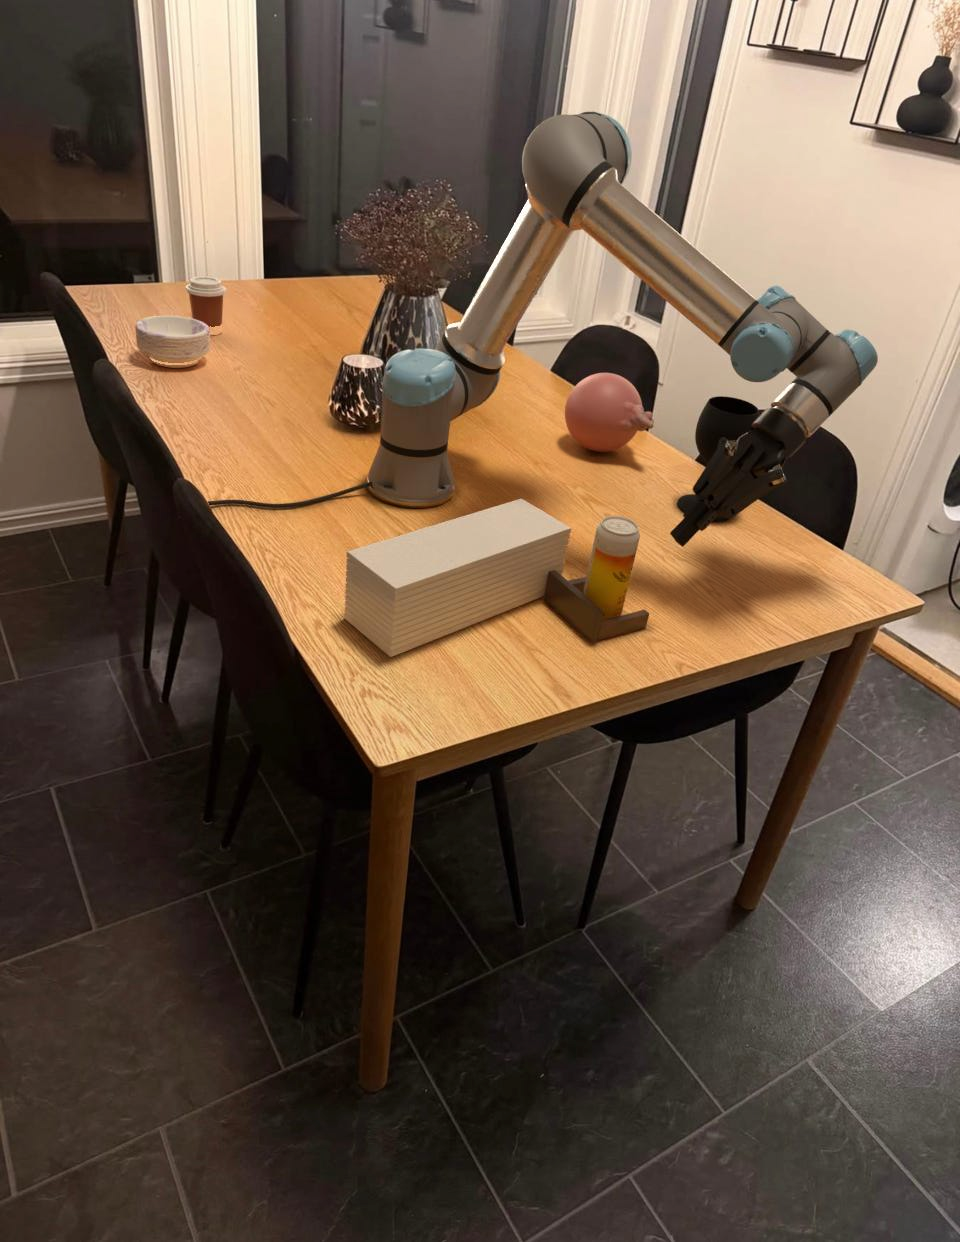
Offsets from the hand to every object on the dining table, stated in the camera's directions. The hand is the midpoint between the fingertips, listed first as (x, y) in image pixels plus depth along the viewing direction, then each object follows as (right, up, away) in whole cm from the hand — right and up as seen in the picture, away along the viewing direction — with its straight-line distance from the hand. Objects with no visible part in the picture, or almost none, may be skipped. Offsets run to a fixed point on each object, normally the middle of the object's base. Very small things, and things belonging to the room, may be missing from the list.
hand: (676, 539), depth 137 cm
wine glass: (+12, +9, +33) cm, 37 cm away
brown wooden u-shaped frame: (-12, -11, -1) cm, 16 cm away
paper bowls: (-96, +45, +65) cm, 124 cm away
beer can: (-12, -11, -1) cm, 16 cm away
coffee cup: (-94, +57, +84) cm, 139 cm away
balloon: (-4, +22, +50) cm, 55 cm away
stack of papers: (-33, -10, -3) cm, 34 cm away
